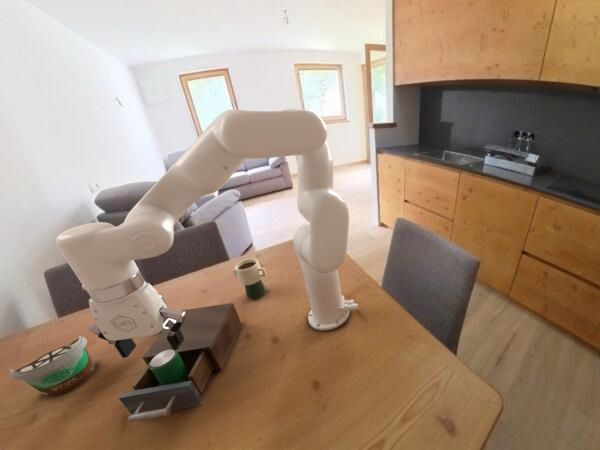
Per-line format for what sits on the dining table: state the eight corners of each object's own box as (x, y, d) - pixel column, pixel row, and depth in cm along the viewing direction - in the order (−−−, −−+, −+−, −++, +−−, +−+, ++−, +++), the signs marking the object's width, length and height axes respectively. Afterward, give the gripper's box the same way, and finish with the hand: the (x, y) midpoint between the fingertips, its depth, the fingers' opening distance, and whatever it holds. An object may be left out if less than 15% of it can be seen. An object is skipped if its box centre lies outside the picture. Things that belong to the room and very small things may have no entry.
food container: (39, 412, 64) (10, 384, 59) (33, 398, 67) (5, 371, 62) (109, 369, 73) (89, 343, 68) (102, 359, 76) (82, 333, 71)
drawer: (192, 423, 59) (179, 403, 56) (120, 437, 57) (103, 417, 54) (225, 351, 75) (217, 332, 72) (171, 360, 74) (160, 341, 71)
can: (196, 372, 69) (181, 346, 65) (185, 392, 64) (168, 366, 60) (173, 376, 68) (157, 350, 64) (160, 397, 63) (142, 370, 59)
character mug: (276, 287, 101) (267, 257, 95) (267, 301, 94) (257, 269, 89) (247, 288, 101) (236, 258, 95) (236, 301, 95) (224, 270, 89)
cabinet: (221, 370, 71) (209, 346, 67) (158, 381, 69) (142, 357, 65) (242, 324, 85) (233, 302, 81) (189, 332, 83) (178, 310, 79)
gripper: (46, 305, 48) (96, 370, 56) (155, 291, 51) (189, 356, 58) (82, 279, 55) (122, 341, 63) (177, 268, 58) (205, 329, 65)
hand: (154, 348), depth 60 cm, fingers open, 9 cm apart
